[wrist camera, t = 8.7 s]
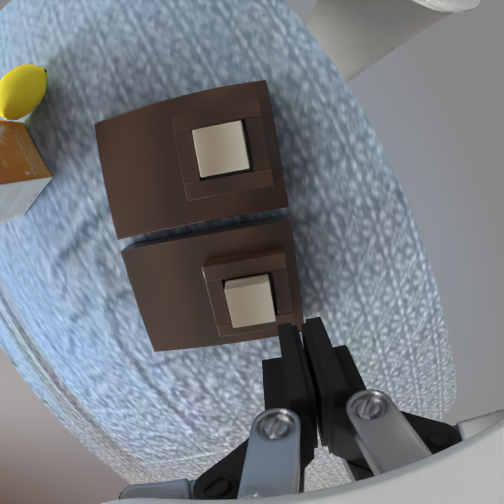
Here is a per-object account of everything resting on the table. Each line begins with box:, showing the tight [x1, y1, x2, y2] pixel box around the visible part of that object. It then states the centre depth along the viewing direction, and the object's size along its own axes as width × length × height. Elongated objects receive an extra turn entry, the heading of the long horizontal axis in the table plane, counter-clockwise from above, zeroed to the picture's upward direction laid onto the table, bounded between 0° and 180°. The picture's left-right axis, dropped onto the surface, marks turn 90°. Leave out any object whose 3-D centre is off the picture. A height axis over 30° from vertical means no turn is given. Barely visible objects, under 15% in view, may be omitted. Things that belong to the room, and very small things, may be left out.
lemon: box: [0, 64, 47, 120], centre depth 18 cm, size 7×5×5 cm
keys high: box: [121, 215, 304, 352], centre depth 24 cm, size 14×10×4 cm
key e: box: [224, 274, 276, 328], centre depth 22 cm, size 3×3×2 cm
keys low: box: [95, 80, 288, 240], centre depth 21 cm, size 14×10×4 cm
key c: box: [192, 121, 250, 177], centre depth 19 cm, size 3×3×2 cm
